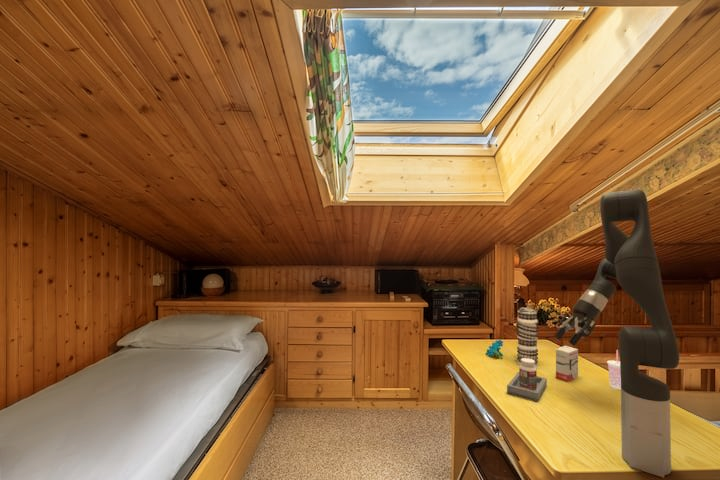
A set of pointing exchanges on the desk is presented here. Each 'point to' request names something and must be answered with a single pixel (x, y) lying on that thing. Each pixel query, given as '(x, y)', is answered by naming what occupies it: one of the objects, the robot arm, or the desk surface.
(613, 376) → the beverage cup
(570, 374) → the ink box
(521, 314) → the black white patterned cylinder
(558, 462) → the desk surface
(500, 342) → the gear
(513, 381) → the tray
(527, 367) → the pill bottle
